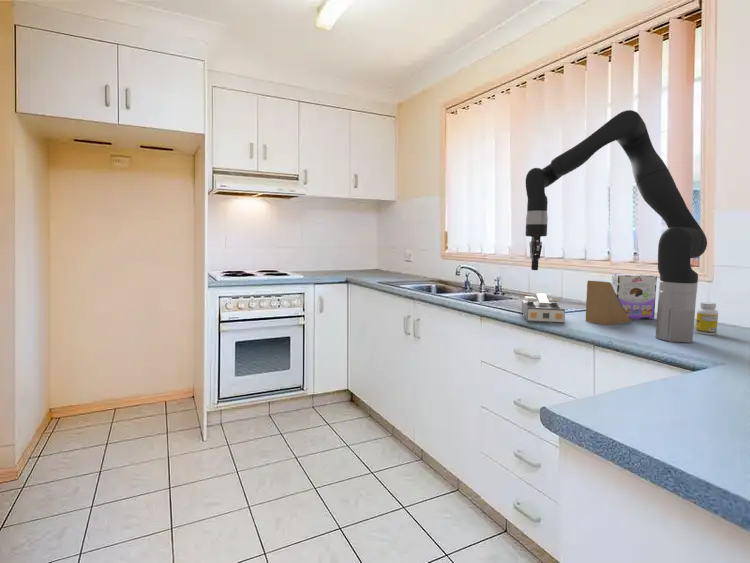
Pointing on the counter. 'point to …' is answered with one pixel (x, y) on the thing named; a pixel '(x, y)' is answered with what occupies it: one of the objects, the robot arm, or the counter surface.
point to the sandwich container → (603, 304)
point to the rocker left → (530, 299)
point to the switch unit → (543, 312)
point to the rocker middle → (542, 299)
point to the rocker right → (554, 299)
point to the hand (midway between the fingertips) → (534, 270)
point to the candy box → (636, 294)
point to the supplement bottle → (707, 319)
